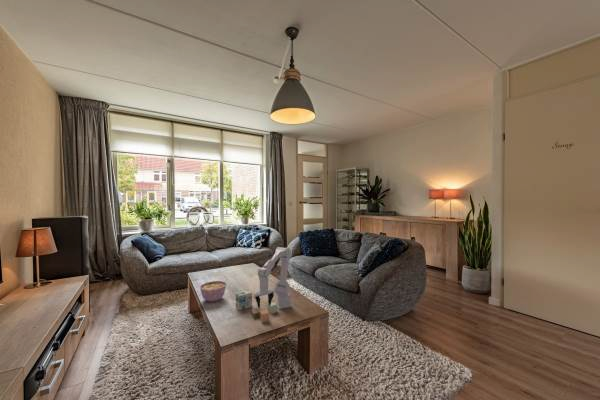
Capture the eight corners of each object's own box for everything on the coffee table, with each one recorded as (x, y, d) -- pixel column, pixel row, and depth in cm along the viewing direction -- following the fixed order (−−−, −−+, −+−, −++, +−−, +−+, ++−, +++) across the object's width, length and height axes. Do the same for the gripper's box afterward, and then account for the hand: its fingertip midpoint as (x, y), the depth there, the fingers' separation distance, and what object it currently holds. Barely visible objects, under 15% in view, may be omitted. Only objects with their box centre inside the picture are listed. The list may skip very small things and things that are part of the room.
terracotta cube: (267, 317, 164) (267, 309, 164) (269, 321, 159) (269, 312, 159) (260, 319, 162) (260, 310, 162) (261, 322, 157) (261, 314, 157)
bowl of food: (200, 296, 198) (200, 282, 198) (225, 293, 206) (225, 279, 205) (199, 307, 180) (199, 291, 180) (227, 302, 187) (227, 288, 187)
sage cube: (273, 309, 176) (273, 301, 176) (277, 311, 172) (277, 304, 172) (267, 311, 173) (267, 303, 173) (271, 313, 169) (271, 306, 169)
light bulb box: (238, 310, 174) (238, 295, 174) (235, 307, 179) (235, 292, 179) (252, 306, 180) (252, 292, 180) (248, 303, 186) (248, 289, 185)
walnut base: (261, 312, 172) (261, 307, 172) (263, 316, 165) (263, 311, 165) (251, 314, 169) (251, 309, 169) (253, 318, 163) (253, 313, 163)
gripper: (271, 281, 167) (271, 301, 168) (251, 286, 160) (251, 306, 160) (275, 285, 161) (276, 305, 162) (255, 289, 154) (255, 310, 154)
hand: (264, 305), depth 160 cm, fingers open, 7 cm apart
